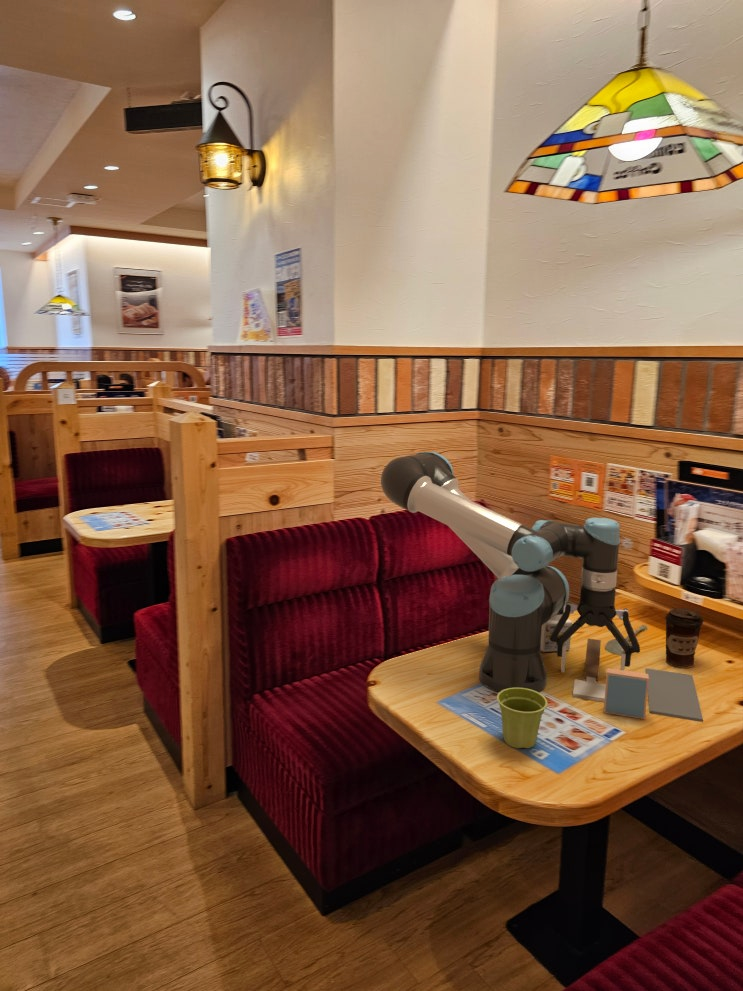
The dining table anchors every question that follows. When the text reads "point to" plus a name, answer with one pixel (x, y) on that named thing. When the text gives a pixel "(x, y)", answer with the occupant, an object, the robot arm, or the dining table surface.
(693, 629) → the coffee cup
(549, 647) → the container
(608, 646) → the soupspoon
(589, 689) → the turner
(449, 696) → the dining table surface
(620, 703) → the tile
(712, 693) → the dining table surface
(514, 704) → the plant pot
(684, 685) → the mat
